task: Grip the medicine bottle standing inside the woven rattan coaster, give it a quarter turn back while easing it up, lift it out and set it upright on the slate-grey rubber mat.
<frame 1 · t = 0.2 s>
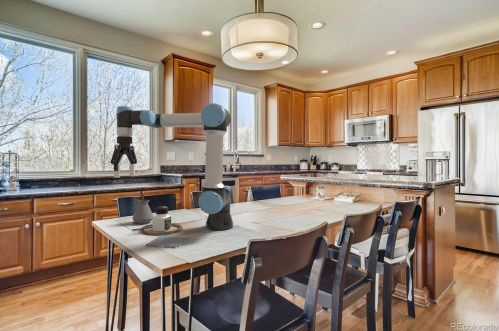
hand: (124, 176, 147), 27 cm above the table, fingers open, 13 cm apart
medicine bottle: (161, 230, 147), resting in woven rattan coaster
slate mat: (167, 241, 126), on the table
woven rattan coaster: (161, 229, 147), on the table
coffee pot: (143, 220, 166), on the table
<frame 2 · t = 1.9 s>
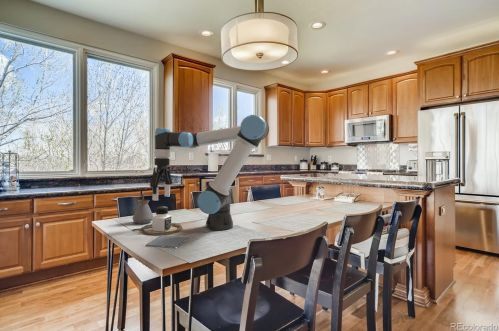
hand: (161, 198, 146), 17 cm above the table, fingers open, 13 cm apart
nothing on the table moved.
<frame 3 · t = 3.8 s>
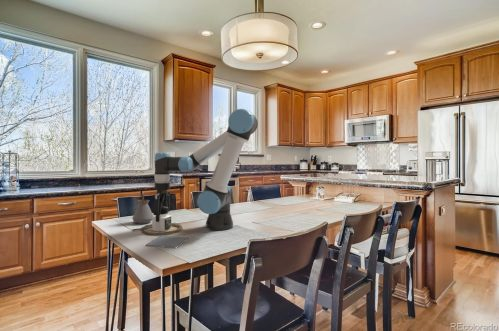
hand: (161, 225, 147), 2 cm above the table, fingers closed on medicine bottle, 7 cm apart
medicine bottle: (161, 230, 147), resting in woven rattan coaster, touching gripper
everything else where it was.
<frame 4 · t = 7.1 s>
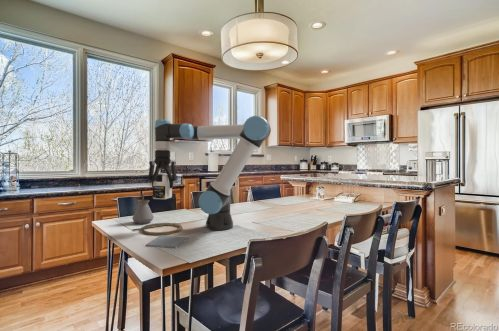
hand: (162, 194, 145), 19 cm above the table, fingers closed on medicine bottle, 7 cm apart
medicine bottle: (162, 198, 145), point 17 cm above the table, touching gripper
everything else where it was.
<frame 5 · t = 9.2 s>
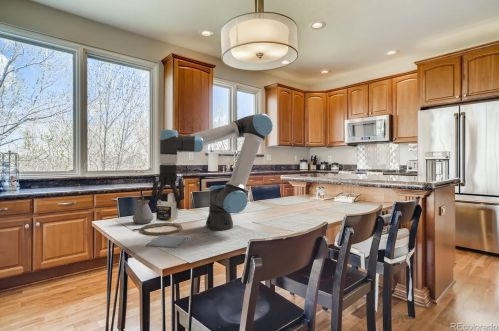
hand: (167, 215, 126), 12 cm above the table, fingers closed on medicine bottle, 7 cm apart
medicine bottle: (167, 220, 126), point 10 cm above the table, touching gripper
everything else where it was.
when the fingers open (4 cm above the table, at t = 10.9 s): medicine bottle drops 1 cm, resting on slate mat.
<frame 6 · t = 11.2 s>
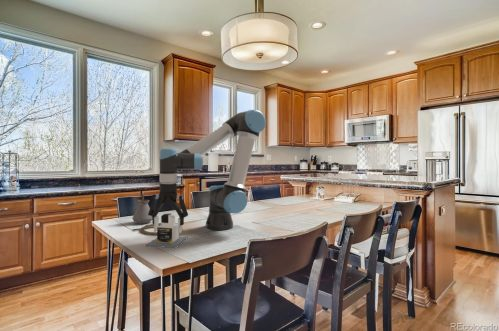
hand: (168, 231, 126), 5 cm above the table, fingers open, 10 cm apart
medicine bottle: (168, 241, 126), resting on slate mat
everything else where it was.
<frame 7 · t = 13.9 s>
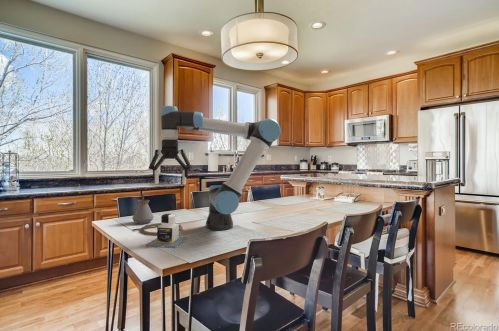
hand: (170, 183, 133), 25 cm above the table, fingers open, 13 cm apart
nothing on the table moved.
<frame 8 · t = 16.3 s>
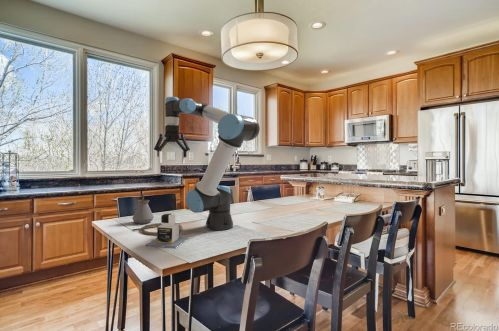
hand: (171, 163, 157), 35 cm above the table, fingers open, 13 cm apart
nothing on the table moved.
at the end: medicine bottle inside the target area on the slate mat (0.1 cm from its centre), point 0.4 cm above the slate mat's base; medicine bottle tilted 0°; medicine bottle moved 22.5 cm from its start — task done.
